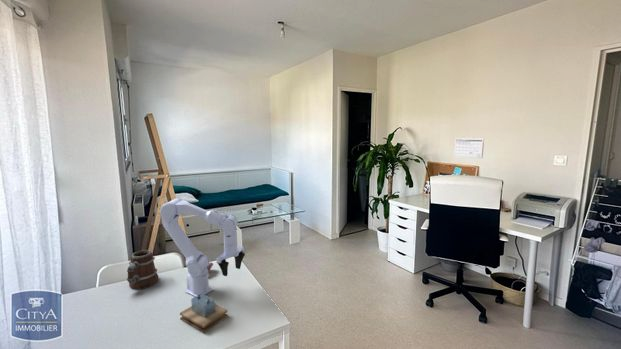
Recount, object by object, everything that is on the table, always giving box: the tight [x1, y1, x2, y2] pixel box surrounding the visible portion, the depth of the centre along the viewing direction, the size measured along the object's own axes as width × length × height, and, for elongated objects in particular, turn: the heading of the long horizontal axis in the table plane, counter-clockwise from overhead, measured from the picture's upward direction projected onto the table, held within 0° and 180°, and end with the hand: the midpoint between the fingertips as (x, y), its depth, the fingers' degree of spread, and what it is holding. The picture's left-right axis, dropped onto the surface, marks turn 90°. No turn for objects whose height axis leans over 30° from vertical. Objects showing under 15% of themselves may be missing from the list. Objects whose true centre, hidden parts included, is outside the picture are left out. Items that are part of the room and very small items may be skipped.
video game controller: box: [207, 261, 214, 273], centre depth 142 cm, size 10×5×7 cm, turn 169°
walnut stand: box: [179, 303, 229, 334], centre depth 108 cm, size 14×11×3 cm
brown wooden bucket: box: [126, 249, 159, 290], centre depth 131 cm, size 16×12×15 cm
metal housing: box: [190, 293, 216, 318], centre depth 108 cm, size 5×8×6 cm, turn 58°
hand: (231, 271), depth 126 cm, fingers open, 7 cm apart
